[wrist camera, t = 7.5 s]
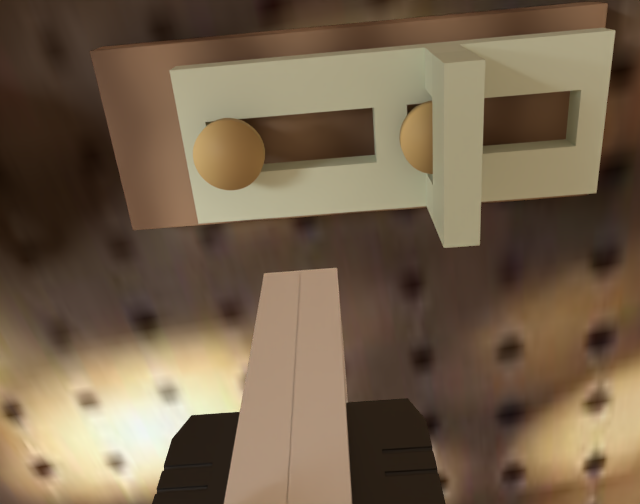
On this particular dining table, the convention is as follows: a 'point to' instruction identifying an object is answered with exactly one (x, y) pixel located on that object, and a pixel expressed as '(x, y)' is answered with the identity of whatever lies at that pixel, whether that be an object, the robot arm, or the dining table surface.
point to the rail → (299, 129)
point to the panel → (388, 115)
